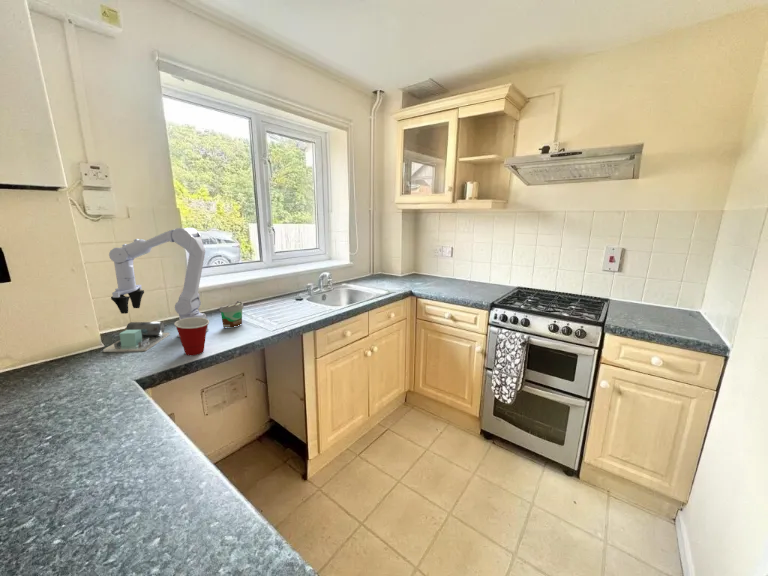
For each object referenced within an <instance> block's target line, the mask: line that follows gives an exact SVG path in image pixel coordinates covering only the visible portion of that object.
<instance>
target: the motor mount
mask: <svg viewBox="0 0 768 576" xmlns="http://www.w3.org/2000/svg"><path fill="white" fill-rule="evenodd" d="M125 330H141V333H142V341H140V342H138V345H137V346H121V341H120V339H119V340H117V341H115V342H114V343H112V344H110V345H109V346H107V347H104V348H103V349H102V352H103V353H115V352H116V353H119V352H122V353H123V352H125V353H126V352H146V351H148V350H149V349H151V348H153V347H154V346H156V345H157V344H159V343H160V342H162V341H163V340H164V339H166V338H167V337H169V336H170V334H171V333H170V332H165V323H164V322H162V321H130V322H129V323H128V324H127V325H126V327H125V328H124V331H125Z"/></svg>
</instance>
